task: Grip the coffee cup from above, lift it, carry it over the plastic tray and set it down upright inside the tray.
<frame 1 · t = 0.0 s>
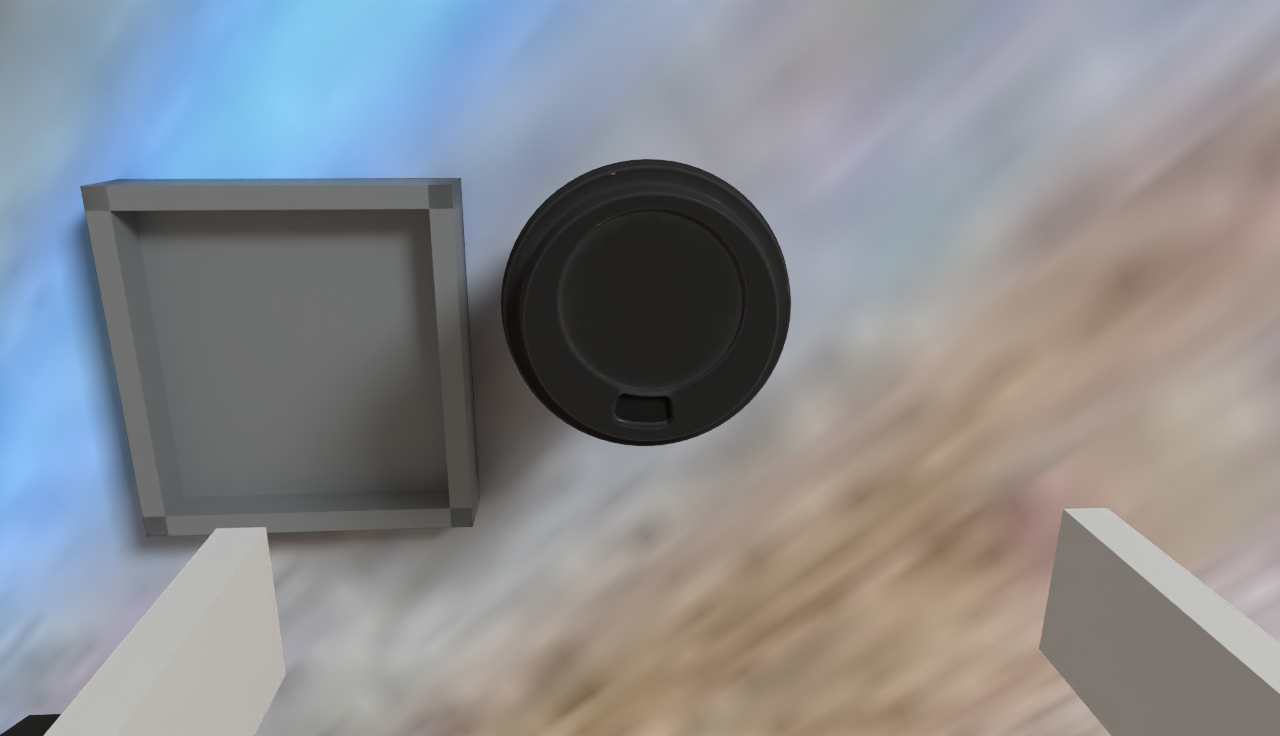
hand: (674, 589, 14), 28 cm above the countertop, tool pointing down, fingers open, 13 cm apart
tray: (311, 350, 41), on the countertop
coffee cup: (625, 242, 41), on the countertop
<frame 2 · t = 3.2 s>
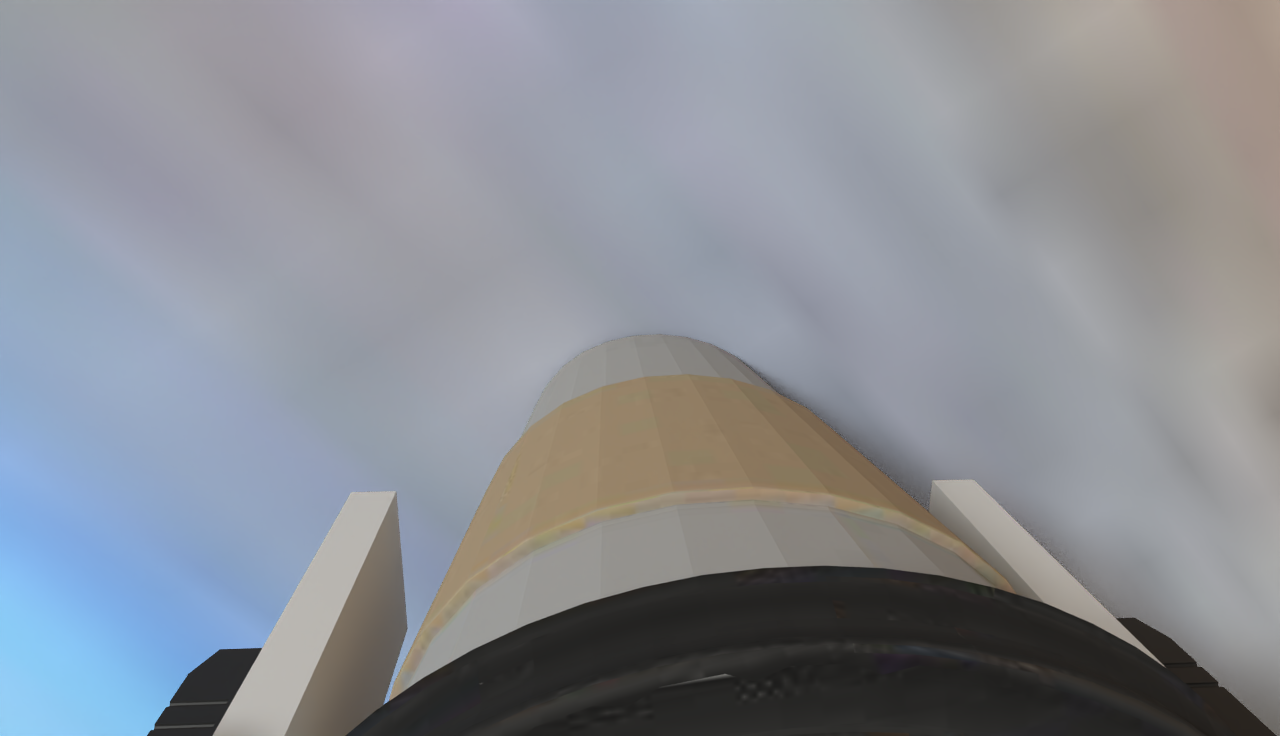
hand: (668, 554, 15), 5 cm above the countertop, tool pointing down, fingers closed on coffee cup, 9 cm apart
coffee cup: (648, 450, 20), on the countertop, touching gripper
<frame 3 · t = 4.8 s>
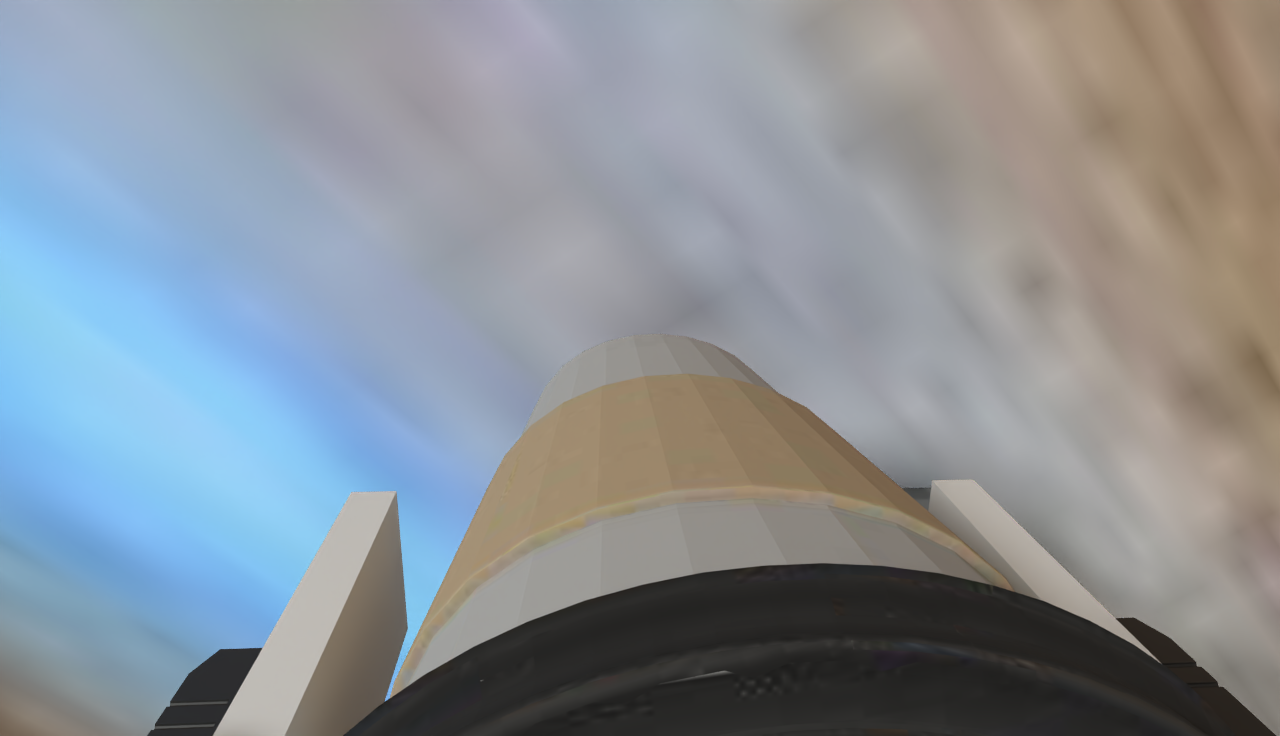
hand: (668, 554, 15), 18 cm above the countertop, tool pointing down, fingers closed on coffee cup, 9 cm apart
tray: (747, 648, 37), on the countertop
coffee cup: (648, 449, 20), point 13 cm above the countertop, touching gripper
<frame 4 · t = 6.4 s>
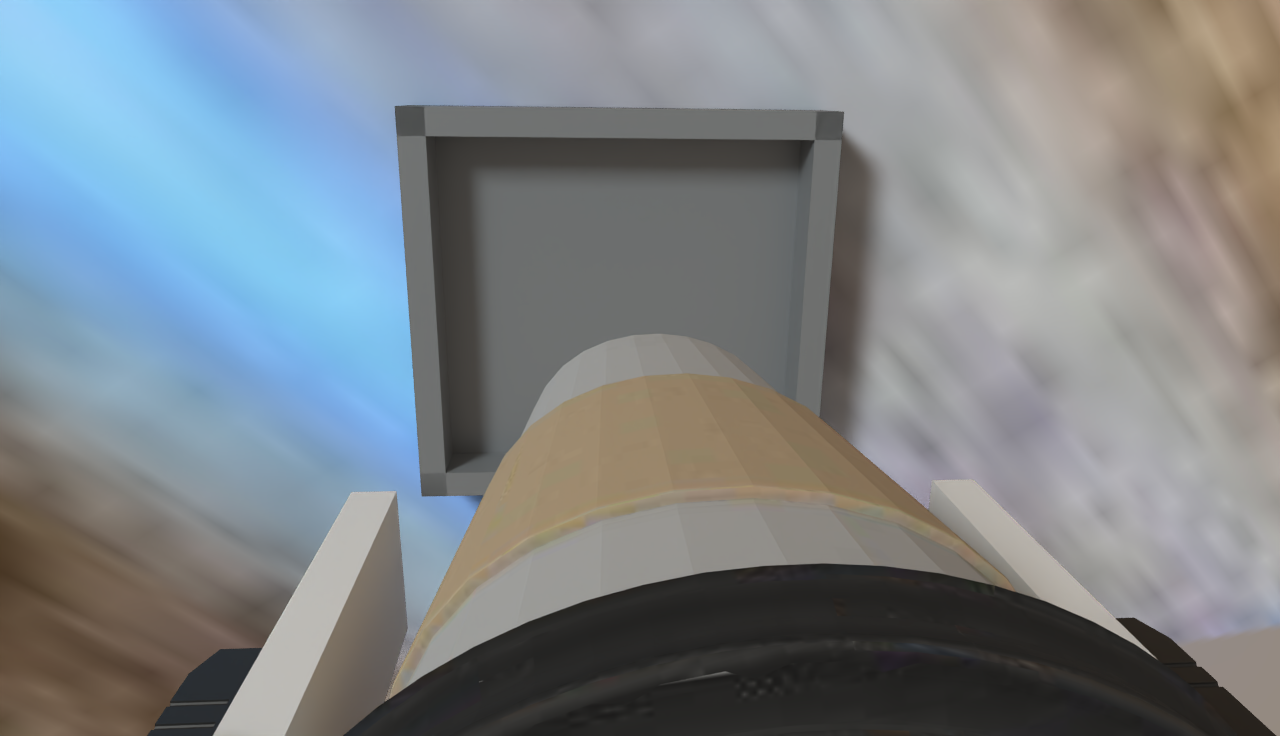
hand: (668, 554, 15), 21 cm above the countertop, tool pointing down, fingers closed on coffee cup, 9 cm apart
tray: (618, 296, 36), on the countertop
coffee cup: (648, 449, 20), point 17 cm above the countertop, touching gripper
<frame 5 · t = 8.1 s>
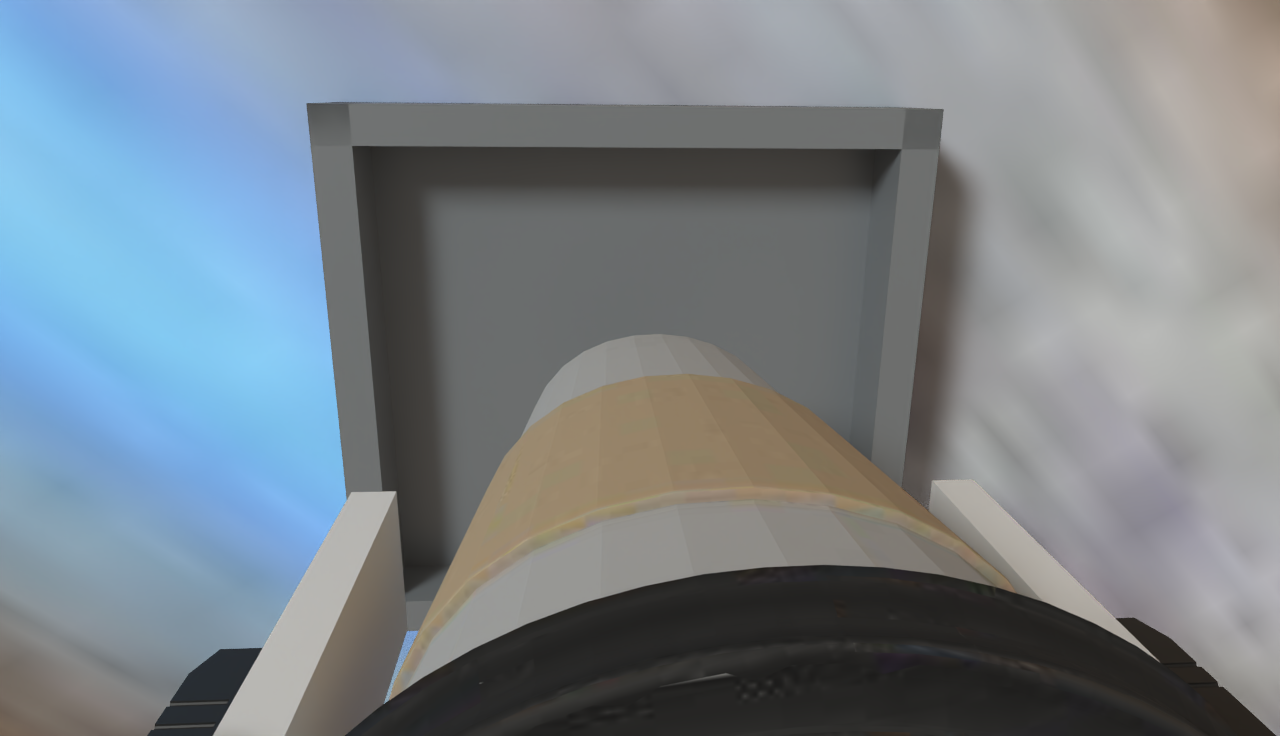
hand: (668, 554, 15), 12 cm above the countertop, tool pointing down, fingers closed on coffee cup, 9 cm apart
tray: (625, 357, 27), on the countertop
coffee cup: (648, 449, 20), point 7 cm above the countertop, touching gripper
when the fingers open (7 cm above the countertop, at t = 9.6 s): coffee cup drops 1 cm, resting on tray.
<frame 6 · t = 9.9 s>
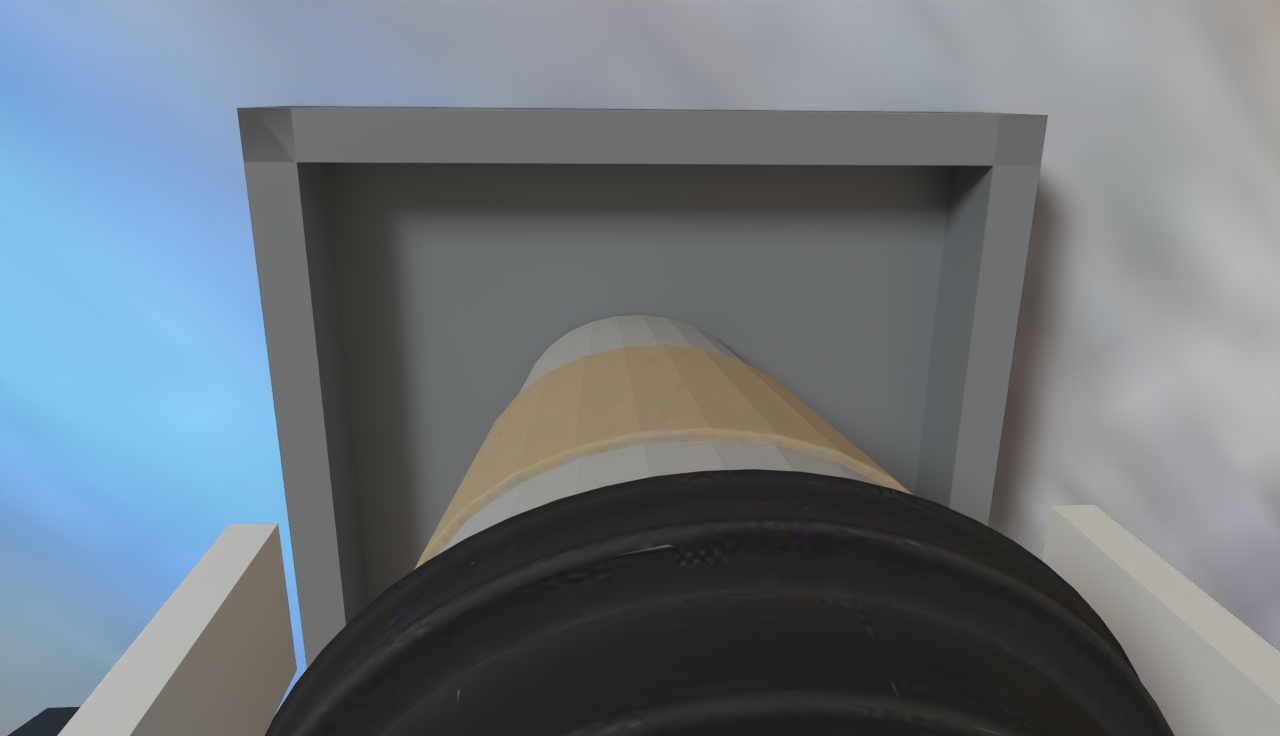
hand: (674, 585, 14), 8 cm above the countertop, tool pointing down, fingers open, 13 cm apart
tray: (640, 415, 22), on the countertop
coffee cup: (631, 424, 21), point 1 cm above the countertop, touching tray
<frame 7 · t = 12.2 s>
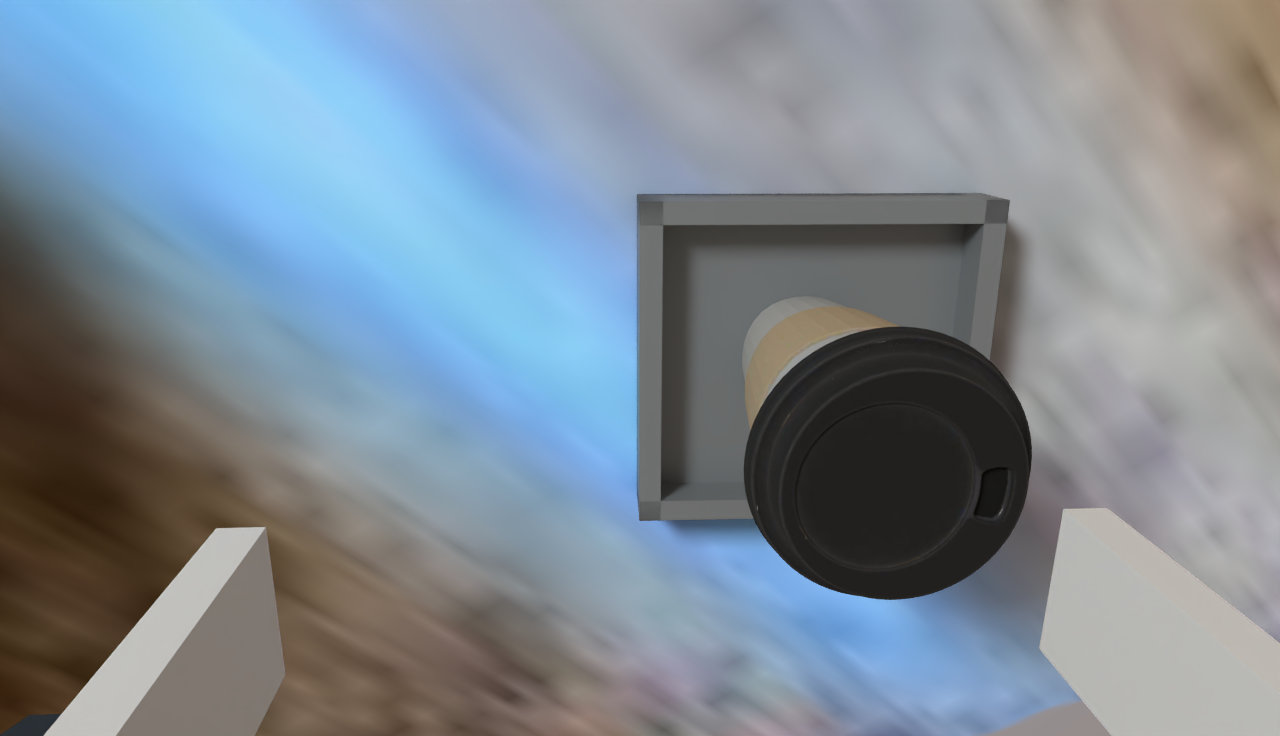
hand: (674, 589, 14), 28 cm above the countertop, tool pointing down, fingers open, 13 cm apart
tray: (801, 350, 42), on the countertop
coffee cup: (798, 353, 41), point 1 cm above the countertop, touching tray
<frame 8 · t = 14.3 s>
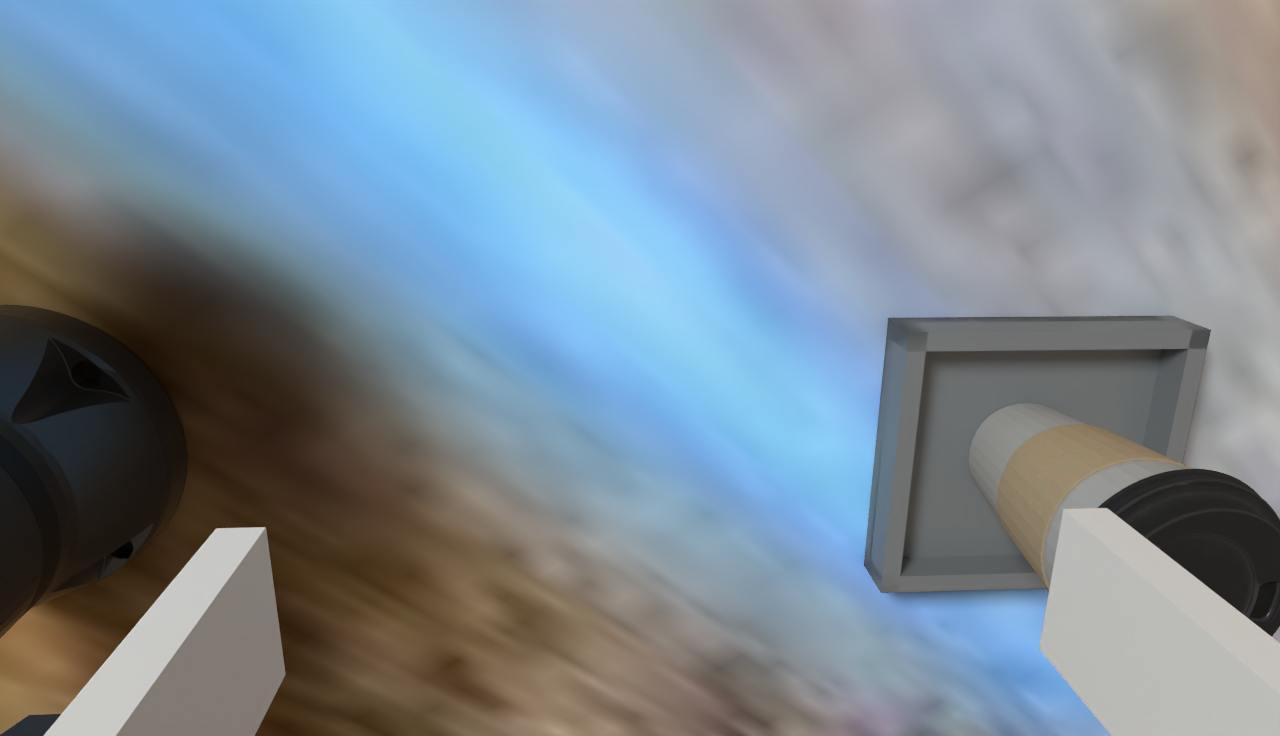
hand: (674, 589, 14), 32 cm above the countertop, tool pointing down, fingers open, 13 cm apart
tray: (1013, 444, 49), on the countertop
coffee cup: (1014, 449, 49), point 1 cm above the countertop, touching tray
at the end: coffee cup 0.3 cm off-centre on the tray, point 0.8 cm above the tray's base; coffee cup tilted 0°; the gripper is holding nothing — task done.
